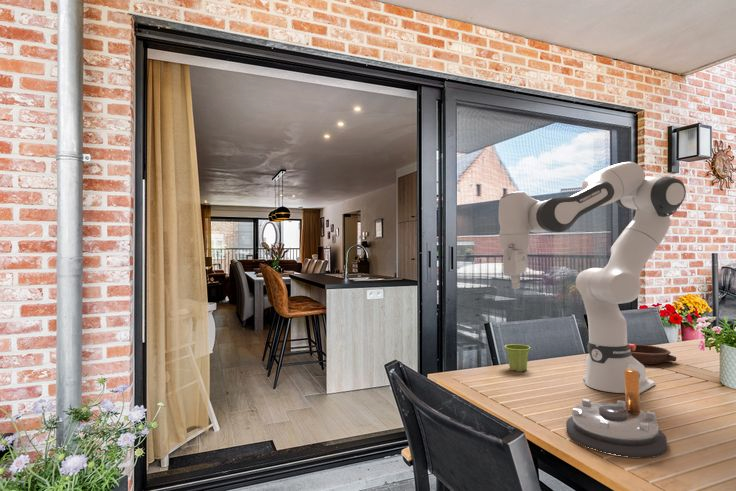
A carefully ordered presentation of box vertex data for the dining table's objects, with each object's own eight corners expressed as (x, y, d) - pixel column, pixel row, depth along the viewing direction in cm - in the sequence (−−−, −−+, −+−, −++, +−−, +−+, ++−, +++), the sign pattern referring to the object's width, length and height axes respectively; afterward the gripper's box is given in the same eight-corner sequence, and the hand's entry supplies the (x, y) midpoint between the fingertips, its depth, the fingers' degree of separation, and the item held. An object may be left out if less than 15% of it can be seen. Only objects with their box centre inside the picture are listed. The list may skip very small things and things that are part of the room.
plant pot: (501, 366, 166) (500, 344, 166) (524, 365, 166) (523, 343, 166) (511, 373, 156) (510, 350, 156) (535, 372, 157) (534, 348, 157)
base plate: (601, 414, 116) (601, 407, 116) (686, 444, 97) (686, 436, 97) (548, 430, 107) (547, 423, 107) (630, 467, 88) (630, 458, 88)
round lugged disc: (664, 425, 103) (662, 372, 103) (651, 453, 90) (648, 392, 90) (584, 408, 115) (582, 361, 115) (562, 430, 102) (560, 377, 102)
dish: (677, 370, 155) (677, 356, 155) (609, 362, 167) (608, 350, 167) (675, 359, 169) (675, 346, 169) (612, 353, 182) (612, 341, 182)
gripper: (519, 243, 119) (521, 292, 119) (529, 243, 137) (531, 286, 137) (496, 244, 122) (498, 291, 122) (509, 244, 140) (511, 285, 140)
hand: (516, 288), depth 130 cm, fingers closed
